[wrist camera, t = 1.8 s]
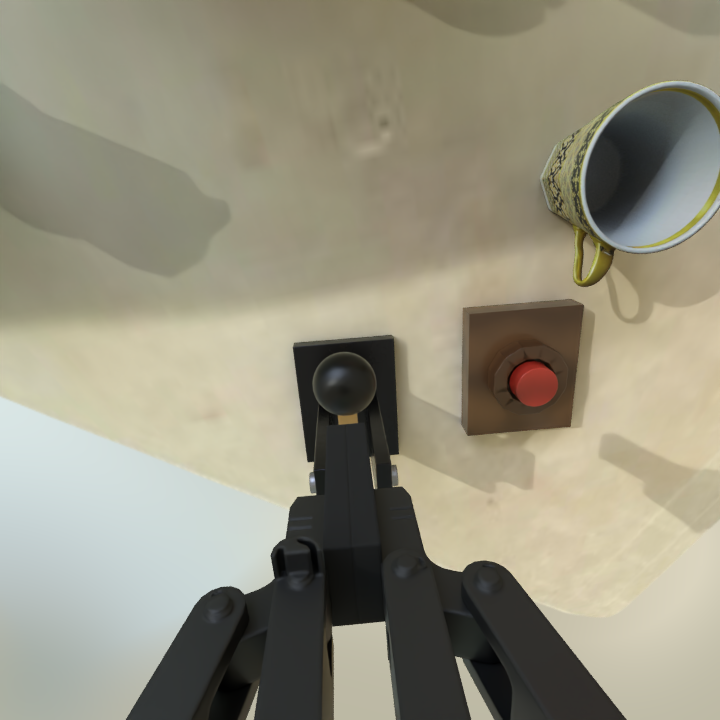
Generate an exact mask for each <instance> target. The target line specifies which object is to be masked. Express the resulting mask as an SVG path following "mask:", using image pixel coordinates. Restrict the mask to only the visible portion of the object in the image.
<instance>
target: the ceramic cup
mask: <svg viewBox="0 0 720 720" xmlns="http://www.w3.org/2000/svg"><path fill="white" fill-rule="evenodd" d="M540 182H541V185H542V189H543V192H544V195H545V199H546V202H547V206H548V208H549V210H550V211H552V212H554V213H556V214H558V215H560V216H561V217H562V218H564V219H565V220H567V221H568V222H570V223H572V225H573V229H574V232H575V260H574V268H573V279H574V282H575V283H576V284H577V285H578V286H581V287H588V286H591V285H594V284H596V283H597V282H598V281H600V280H601V279H602V278H603V276H604V275H605V274H606V272H607V271H608V269H609V268H610V266H611V263H612V260H613V256H614V250H615V249H618V250H620V251H624V252H627V253H634V254H648V253H655V252H659V251H663V250H666V249H669V248H672V247H674V246H676V245H678V244H680V243H682V242H684V241H685V240H687V239H688V238H690V237H691V236H693V235H694V234H695V233H697V232H698V231H699V230H700V229H701V228H702V227H703V226H704V225H705V224H706V223H707V222H708V221H709V220H710V219H711V218H712V217H713V216H714V214H715V213H716V212H717V210H718V209H719V208H720V96H718V95H717V94H716V93H715V92H713V91H712V90H711V89H709V88H707V87H705V86H703V85H700V84H698V83H694V82H690V81H679V80H675V81H665V82H660V83H656V84H653V85H650V86H648V87H645V88H643V89H641V90H639V91H637V92H635V93H634V94H632V95H630V96H628V97H627V98H625V99H623V100H621V101H620V102H618V103H616V104H615V105H613V106H612V107H610V108H609V109H607V110H606V111H604V112H603V113H601V114H600V115H598V116H597V117H596V118H594V119H593V120H592V121H590V122H589V123H588V124H587V125H586V126H585V127H583V128H581V129H580V130H578V131H577V132H575V133H573V134H572V135H570V136H569V137H567V138H566V139H564V140H562V141H560V142H559V143H557V144H556V145H555V146H554V148H553V150H552V153H551V155H550V157H549V159H548V161H547V164H546V166H545V168H544V170H543V172H542V174H541V177H540ZM587 234H589V236H590V238H591V239H592V240H593V243H594V245H595V246H596V253H595V257H594V260H593V263H592V266H591V269H590V271H589V273H588V275H587V277H586V278H585V279H584V280H582V265H583V255H584V253H583V241H584V238H585V236H586V235H587Z"/></svg>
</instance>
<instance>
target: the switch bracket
mask: <svg viewBox="0 0 720 720" xmlns="http://www.w3.org/2000/svg"><path fill="white" fill-rule="evenodd" d="M293 352H294V360H295V368H296V375H297V383H298V391H299V399H300V406H301V414H302V422H303V430H304V438H305V445H306V453H307V461H308V462H314V472H311V473H310V475H309V482H310V491H311V493H316V495H325V465H326V433H327V426H330V425H339V422H338V415H335V414H332V413H330V412H329V411H327V410H325V409H324V408H323V407H322V406H321V405H320V404H319V402H318V401H317V399H316V397H315V395H314V391H313V377H314V373H315V371H316V369H317V367H318V366H319V364H320V363H321V362H322V361H323V360H324V359H325V358H327V357H328V356H330V355H332V354H335V353H339V352H350V353H354V354H357V355H359V356H361V357H362V358H364V359H365V360H366V361H367V362H368V363H369V364H370V365H371V367H372V369H373V371H374V373H375V376H376V391H375V395H374V397H373V399H372V401H371V402H370V404H369V405H368V406H367V407H366V408H365V409H364V410H362V411H361V412H359V413H357V418H358V423H365V428H366V436H367V443H368V451H369V457H371V461H372V469H373V476H374V483H375V489H380V488H391V487H393V486H397V485H398V473H397V467H396V465H391V460H390V455H394V454H399V447H398V424H397V402H396V379H395V357H394V339H393V336H392V335H386V336H374V337H362V338H350V339H337V340H325V341H313V342H301V343H294V345H293Z"/></svg>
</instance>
